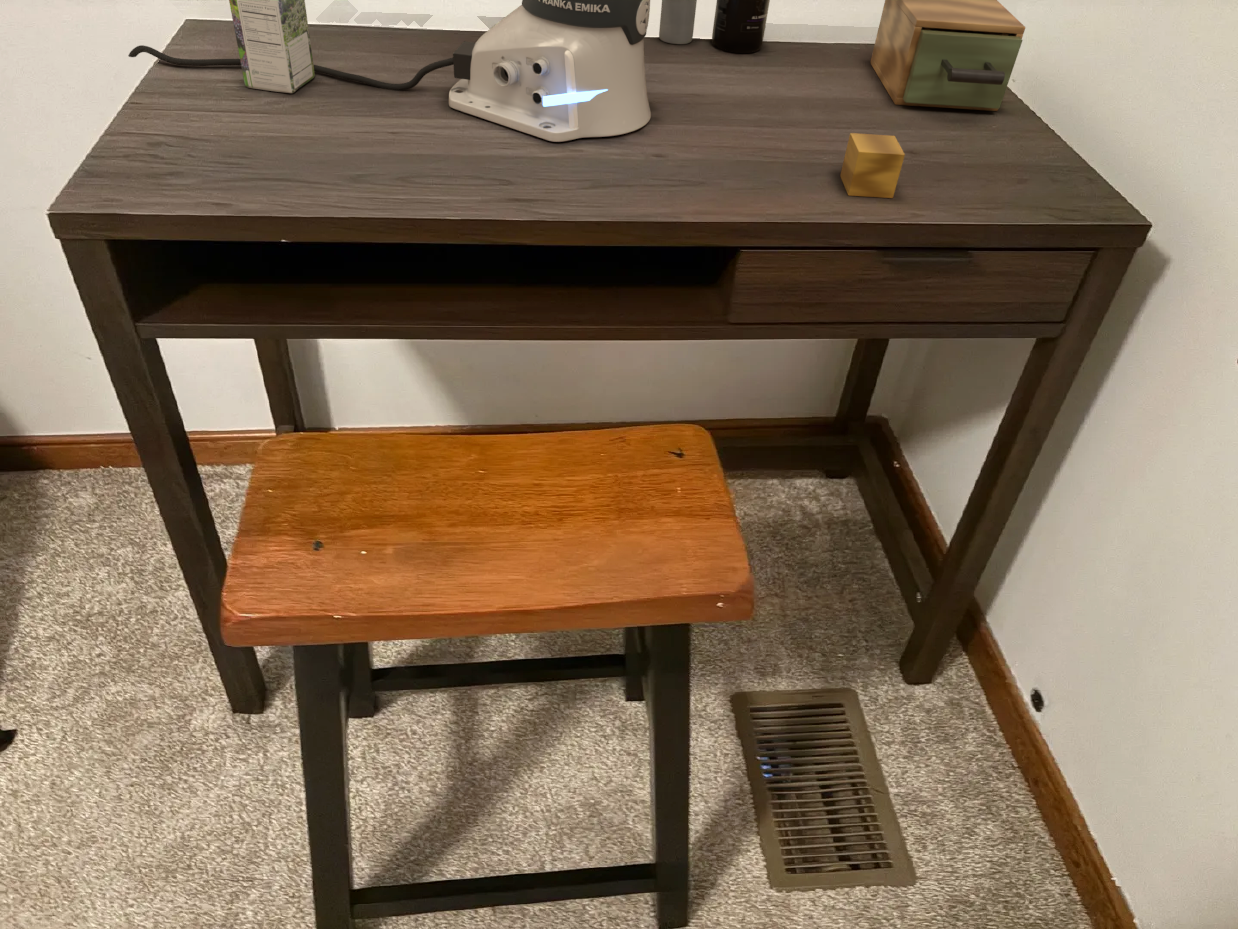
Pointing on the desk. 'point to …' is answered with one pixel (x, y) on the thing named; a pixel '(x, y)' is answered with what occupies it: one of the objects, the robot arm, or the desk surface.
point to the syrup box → (273, 43)
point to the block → (872, 165)
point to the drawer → (961, 68)
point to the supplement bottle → (740, 25)
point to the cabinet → (930, 5)
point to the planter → (677, 21)
